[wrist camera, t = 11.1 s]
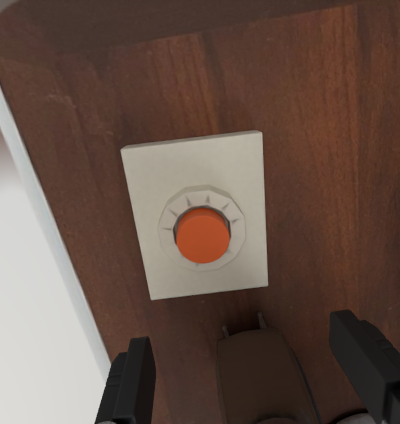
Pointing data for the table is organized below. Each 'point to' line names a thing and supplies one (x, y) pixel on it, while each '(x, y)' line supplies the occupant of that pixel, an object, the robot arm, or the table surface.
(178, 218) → the control block
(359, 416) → the planter
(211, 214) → the button
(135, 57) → the table surface
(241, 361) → the alarm clock
